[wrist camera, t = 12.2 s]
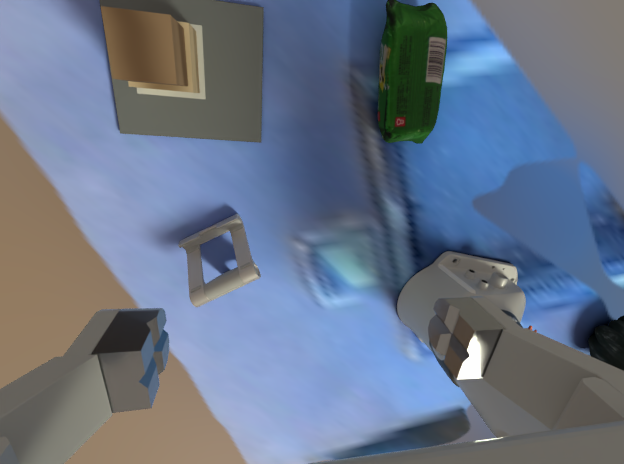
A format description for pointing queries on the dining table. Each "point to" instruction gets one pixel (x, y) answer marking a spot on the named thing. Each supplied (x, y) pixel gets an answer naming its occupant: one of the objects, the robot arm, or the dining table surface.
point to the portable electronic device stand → (227, 280)
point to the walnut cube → (145, 46)
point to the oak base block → (191, 65)
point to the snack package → (411, 71)
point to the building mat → (202, 76)
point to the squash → (609, 343)
